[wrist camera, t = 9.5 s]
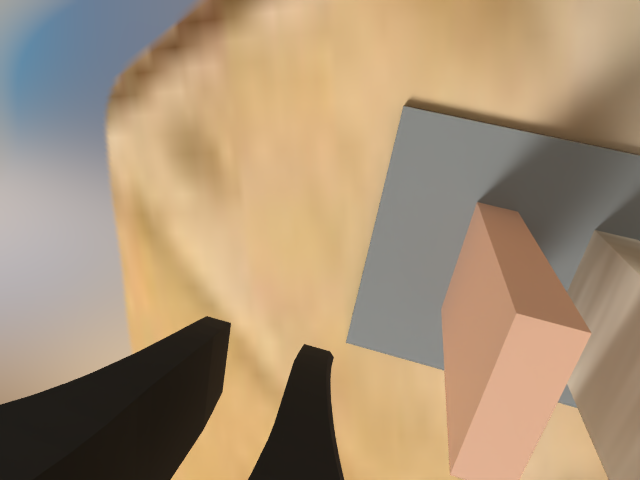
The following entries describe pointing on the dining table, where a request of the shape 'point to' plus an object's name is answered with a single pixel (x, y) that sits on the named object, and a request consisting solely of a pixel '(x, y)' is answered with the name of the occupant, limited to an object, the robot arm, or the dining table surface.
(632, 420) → the wooden block
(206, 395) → the robot arm
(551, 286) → the terracotta domino
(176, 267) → the dining table surface
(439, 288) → the slate runway mat
